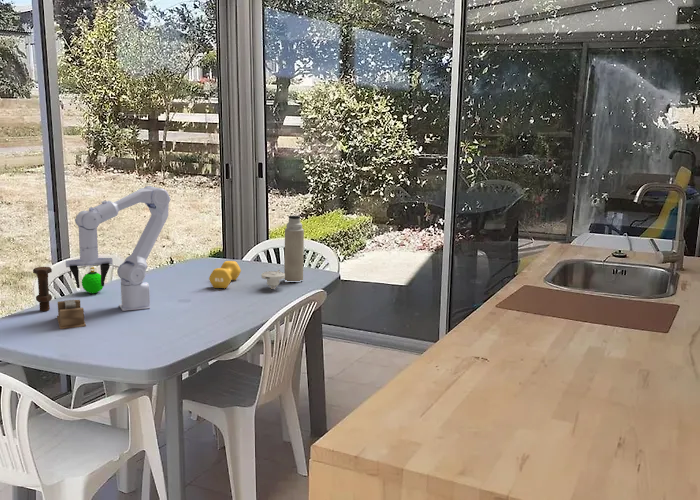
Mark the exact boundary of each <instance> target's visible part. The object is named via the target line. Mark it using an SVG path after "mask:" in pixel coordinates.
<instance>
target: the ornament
mask: <svg viewBox="0 0 700 500" xmlns="http://www.w3.org/2000/svg"><path fill="white" fill-rule="evenodd" d="M89 269H90V271H89V272H87V273H86V274H85V275H84V276H83V277H82V279H81V286H82V289H83V290H84V291H85V292H87V293H89V294H97V293H99V292H101V291H102V290H103V289H104V287H105V285H104V286H101V273H99V272H97V271H95V267H93V266H92V267H91V266H90V268H89Z"/></svg>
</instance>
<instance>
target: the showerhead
mask: <svg viewBox="0 0 700 500" xmlns="http://www.w3.org/2000/svg"><path fill="white" fill-rule="evenodd" d="M260 276H261V279H263V280H266V281H267V282H266V285H268V286H269V287H270V288H271V289H275V288H277V287H278V286H279V285H280V280H282V279H284V278H285V274H284V272H282V271H280V269H279V268H278V269H277V270H274V271H272V270H271V271H269V270H268V271H264V272H262V273H261V275H260ZM270 288H269V289H270ZM271 289H270V290H271ZM275 290H276V289H275Z"/></svg>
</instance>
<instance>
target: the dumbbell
mask: <svg viewBox="0 0 700 500" xmlns="http://www.w3.org/2000/svg"><path fill="white" fill-rule="evenodd" d="M241 272H242V270H241V267H240V265H239V264H238V262H237V261H234V260H226V261H224V262H223V263H222V265H221V266H220V267H217V268H214V269H213V270H212V271H211V273H210V275H209V277H208V280H209V282H210V284H211V286H212V288H214V289H215V288H224V289H223V290H225V288H226V289H227V288H228V287H229V285H230V284H231V282H232V281H231V280H234V281H236V280H237V279H238V278H239V276H240V274H241Z"/></svg>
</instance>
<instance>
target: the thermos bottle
mask: <svg viewBox="0 0 700 500" xmlns="http://www.w3.org/2000/svg"><path fill="white" fill-rule="evenodd" d="M285 227H286V228H284V264H283V265H284V267H283V268H284V270H283V271H284V272H283V273H284V274H285V278H284V279H285V280H287V281H300V280H303V281H304V245H305V244H304V243H305V242H304V241H305V238H304V237H305V234H304V233H305V229H304V228H303V223H302V222H301V216H300V215H295V214H294V215H288V221H287V223H286V226H285Z"/></svg>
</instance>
